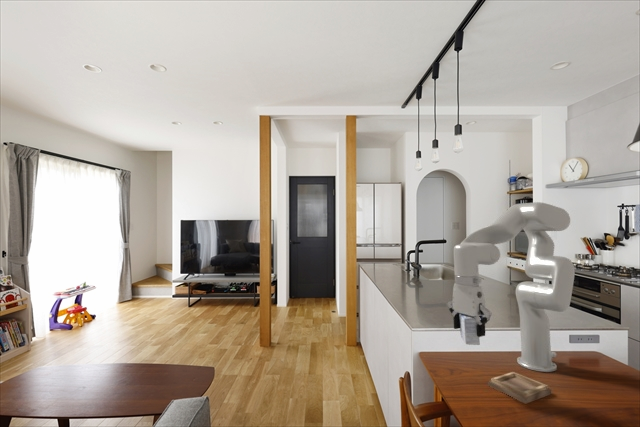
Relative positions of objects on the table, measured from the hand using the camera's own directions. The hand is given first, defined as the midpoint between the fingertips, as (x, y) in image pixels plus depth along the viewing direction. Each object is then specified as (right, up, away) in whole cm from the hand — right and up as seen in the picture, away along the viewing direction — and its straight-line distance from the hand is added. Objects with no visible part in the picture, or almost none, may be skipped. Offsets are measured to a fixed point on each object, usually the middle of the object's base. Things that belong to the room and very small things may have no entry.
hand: (469, 331), depth 110 cm
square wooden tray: (+15, -18, -4) cm, 23 cm away
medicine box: (0, -3, 0) cm, 3 cm away
